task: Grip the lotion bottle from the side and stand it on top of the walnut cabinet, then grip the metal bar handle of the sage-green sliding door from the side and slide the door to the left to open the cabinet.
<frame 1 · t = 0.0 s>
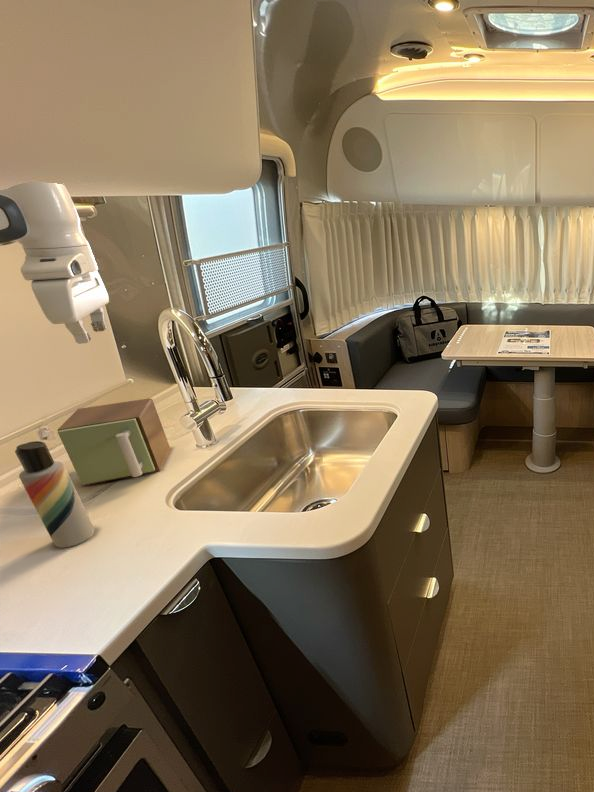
hand: (93, 336, 94), 34 cm above the table, tool pointing down, fingers open, 8 cm apart
cabinet: (129, 466, 114), on the table
door: (105, 456, 104), point 7 cm above the table, slide at 0.0 cm
lotion bottle: (76, 539, 90), on the table
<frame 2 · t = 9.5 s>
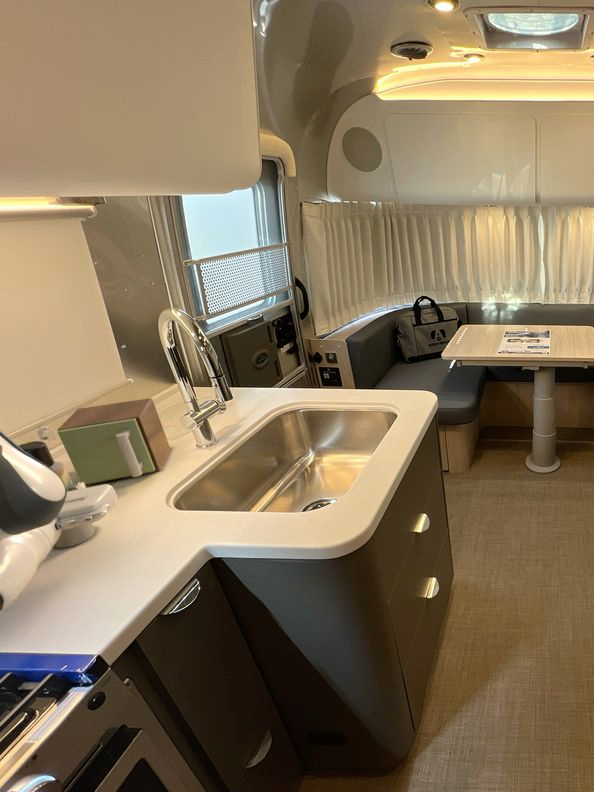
hand: (55, 490, 87), 10 cm above the table, tool horizontal, fingers closed on lotion bottle, 5 cm apart
lotion bottle: (76, 539, 90), on the table, touching gripper
everything else where it was.
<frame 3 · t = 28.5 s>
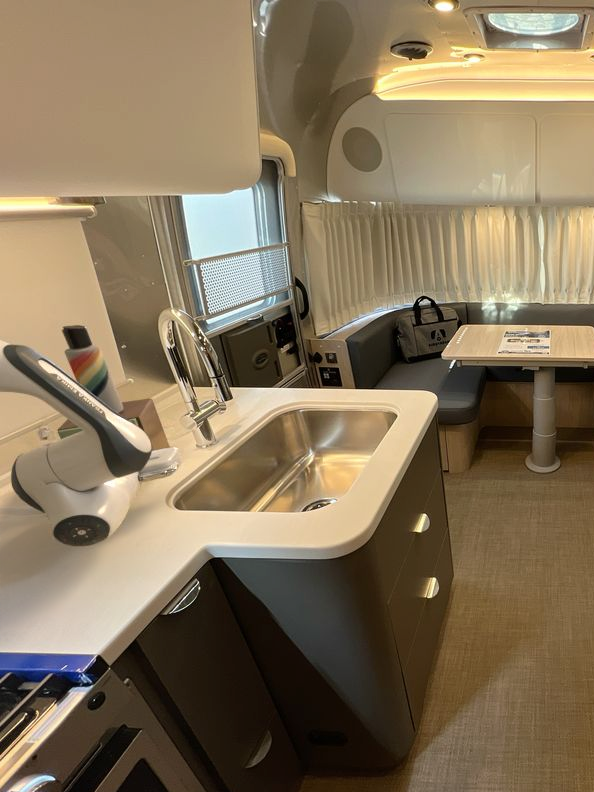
hand: (130, 453, 105), 8 cm above the table, tool horizontal, fingers closed on door, 2 cm apart
door: (105, 456, 104), point 7 cm above the table, slide at 0.0 cm, touching gripper
lotion bottle: (108, 413, 109), point 14 cm above the table, touching cabinet
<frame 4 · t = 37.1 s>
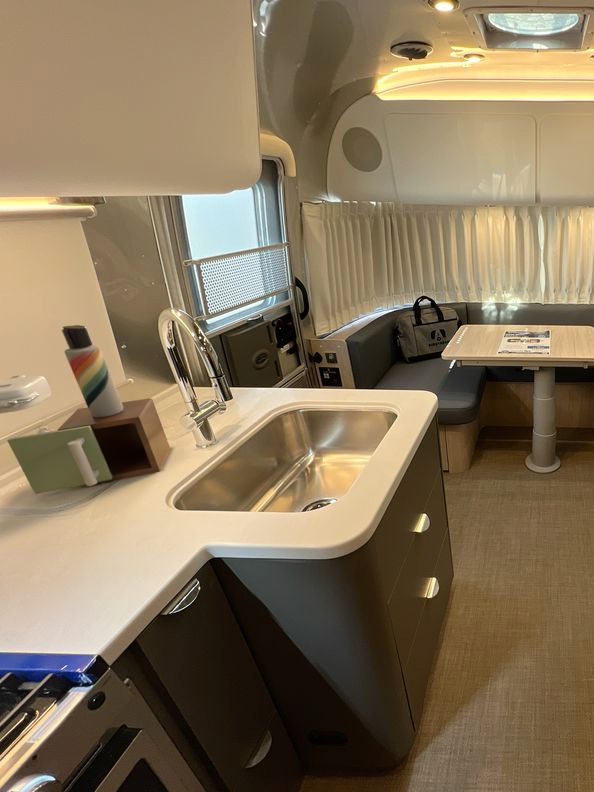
door: (58, 464, 101), point 8 cm above the table, slide at 7.9 cm
everything else where it was.
at the end: door slide at 7.9 cm; lotion bottle inside the target area on the cabinet (0.1 cm from its centre), point 13.8 cm above the cabinet's base; lotion bottle tilted 0° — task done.
